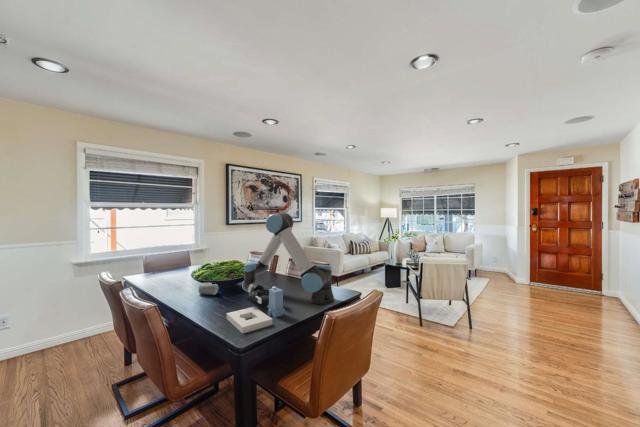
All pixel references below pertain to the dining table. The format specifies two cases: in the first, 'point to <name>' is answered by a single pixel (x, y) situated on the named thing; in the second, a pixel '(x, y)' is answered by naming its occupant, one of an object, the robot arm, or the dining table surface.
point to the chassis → (252, 324)
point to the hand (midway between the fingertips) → (272, 298)
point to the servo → (275, 302)
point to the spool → (208, 288)
